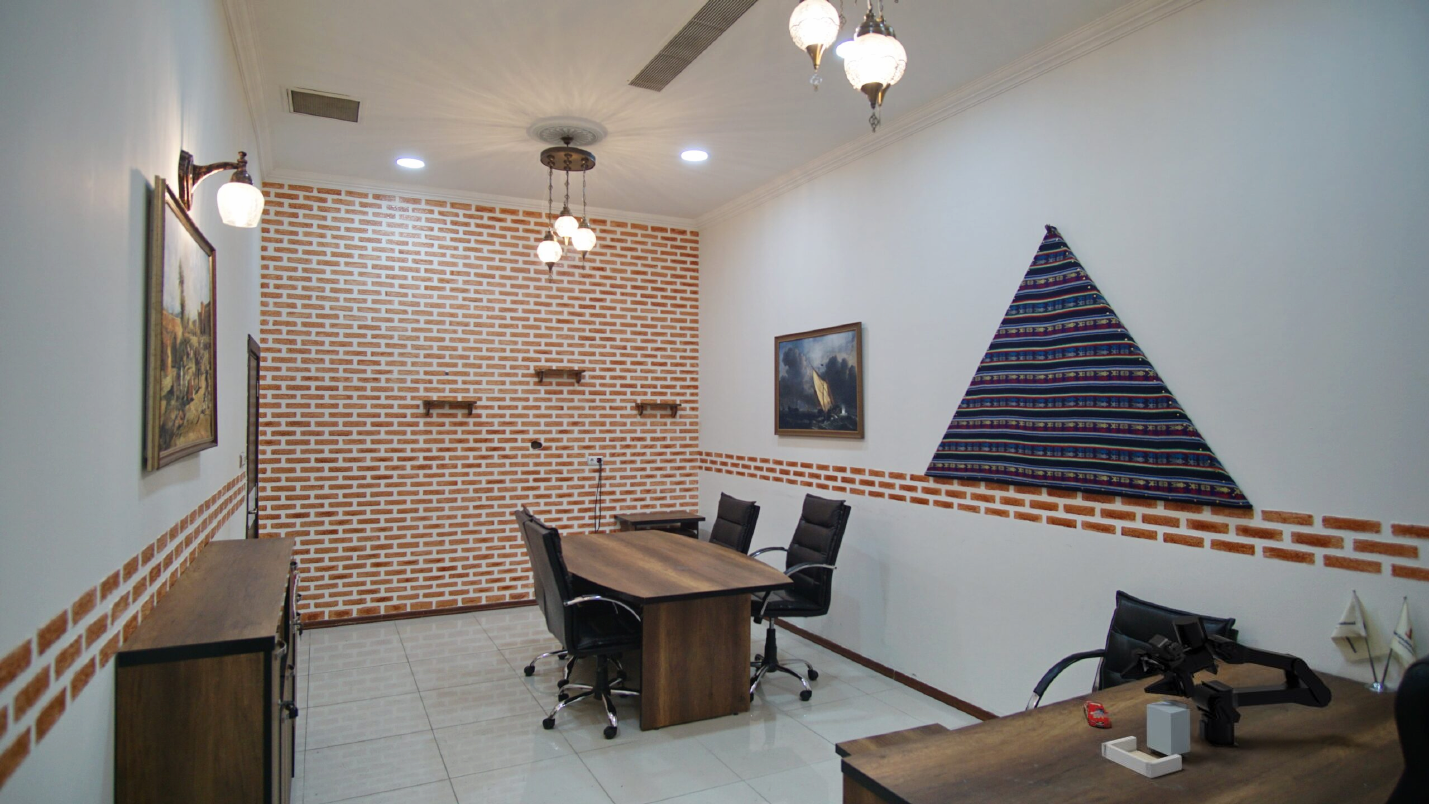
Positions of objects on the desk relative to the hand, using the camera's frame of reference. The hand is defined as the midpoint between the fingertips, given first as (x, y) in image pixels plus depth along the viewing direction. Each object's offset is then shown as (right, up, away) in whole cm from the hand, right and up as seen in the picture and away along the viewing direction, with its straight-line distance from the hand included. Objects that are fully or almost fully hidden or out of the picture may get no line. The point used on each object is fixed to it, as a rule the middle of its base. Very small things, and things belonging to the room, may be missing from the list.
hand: (1132, 683), depth 188 cm
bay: (-3, -14, -11) cm, 18 cm away
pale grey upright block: (+5, -15, -7) cm, 17 cm away
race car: (-1, -16, +15) cm, 22 cm away
